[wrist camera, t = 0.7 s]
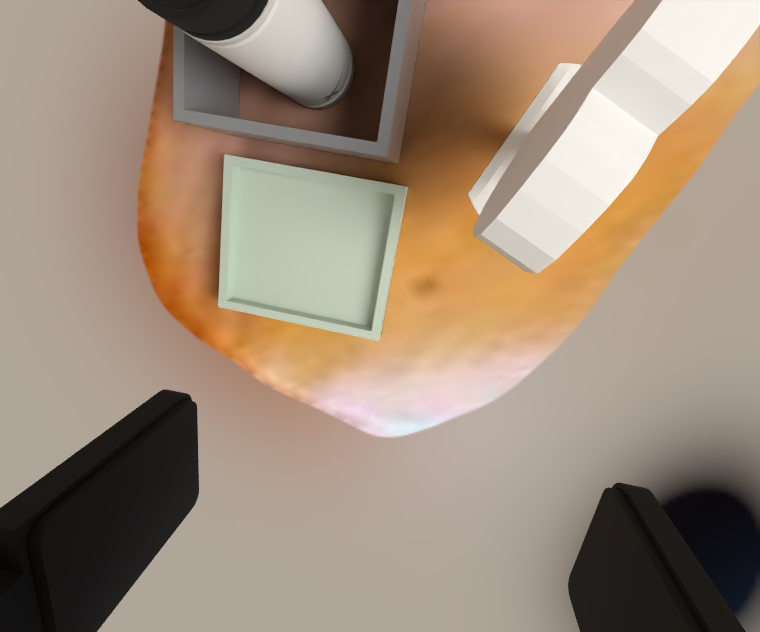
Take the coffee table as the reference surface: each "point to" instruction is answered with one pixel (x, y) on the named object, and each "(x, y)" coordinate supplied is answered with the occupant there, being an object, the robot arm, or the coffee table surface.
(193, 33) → the travel mug
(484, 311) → the coffee table surface
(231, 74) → the deep bin
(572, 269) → the coffee table surface
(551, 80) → the heart sculpture
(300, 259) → the tray
